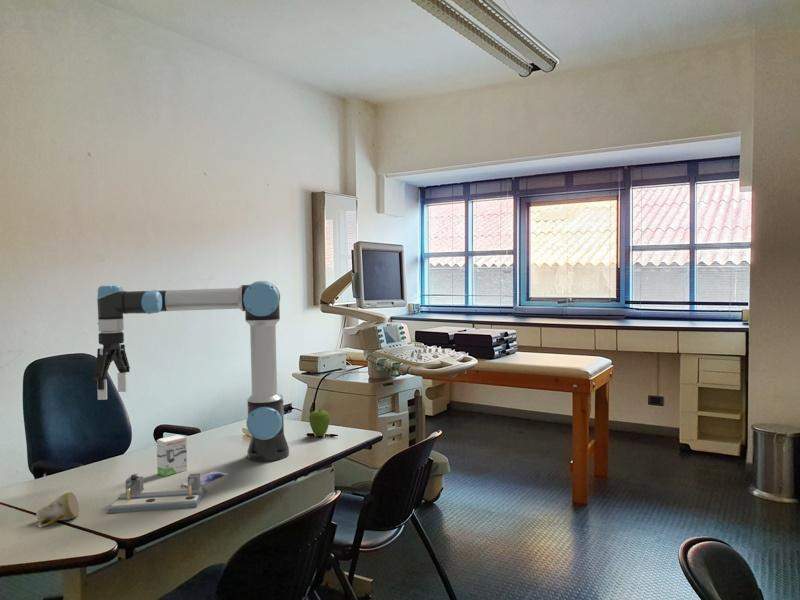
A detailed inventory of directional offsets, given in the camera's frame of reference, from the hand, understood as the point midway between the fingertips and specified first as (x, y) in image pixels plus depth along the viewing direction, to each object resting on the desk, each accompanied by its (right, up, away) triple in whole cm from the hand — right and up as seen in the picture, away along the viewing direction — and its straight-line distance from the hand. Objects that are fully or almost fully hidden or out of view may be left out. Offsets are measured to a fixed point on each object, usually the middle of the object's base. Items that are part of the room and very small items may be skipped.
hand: (112, 395), depth 192 cm
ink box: (+18, -27, +5) cm, 33 cm away
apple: (+62, -25, +49) cm, 83 cm away
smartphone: (+32, -28, -4) cm, 43 cm away
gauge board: (+25, -28, -22) cm, 43 cm away
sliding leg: (+17, -26, -23) cm, 38 cm away
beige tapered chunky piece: (+2, -29, -35) cm, 45 cm away
